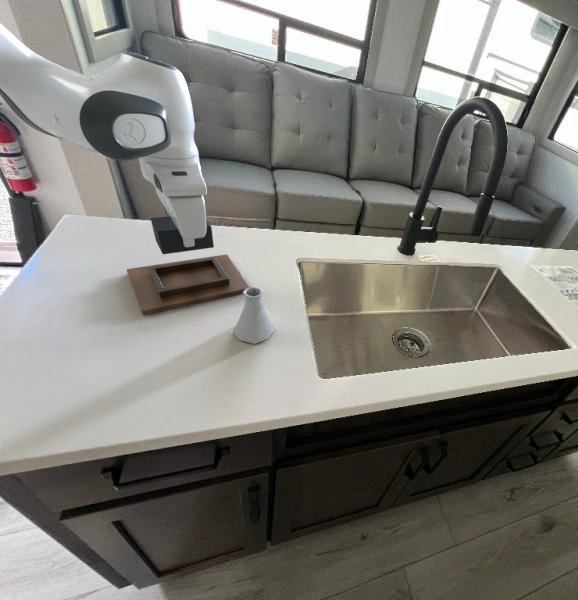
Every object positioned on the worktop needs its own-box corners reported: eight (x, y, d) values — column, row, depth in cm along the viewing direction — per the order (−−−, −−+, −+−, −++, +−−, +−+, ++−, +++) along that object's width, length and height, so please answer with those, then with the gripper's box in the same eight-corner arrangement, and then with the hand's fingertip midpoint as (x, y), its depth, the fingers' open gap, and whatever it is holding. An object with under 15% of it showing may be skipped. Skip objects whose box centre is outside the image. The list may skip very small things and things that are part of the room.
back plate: (143, 315, 62) (139, 304, 61) (127, 273, 70) (124, 263, 69) (250, 291, 75) (250, 282, 73) (227, 258, 83) (226, 248, 81)
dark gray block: (162, 254, 63) (157, 231, 60) (155, 240, 66) (150, 217, 63) (214, 247, 68) (211, 225, 65) (205, 235, 71) (202, 213, 68)
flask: (281, 329, 68) (282, 291, 62) (255, 349, 62) (253, 309, 56) (254, 314, 70) (252, 275, 64) (225, 332, 64) (221, 292, 58)
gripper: (137, 146, 61) (152, 215, 69) (164, 191, 51) (179, 266, 59) (176, 148, 65) (186, 212, 73) (209, 189, 55) (217, 259, 63)
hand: (183, 236), depth 66 cm, fingers closed on dark gray block, 5 cm apart
